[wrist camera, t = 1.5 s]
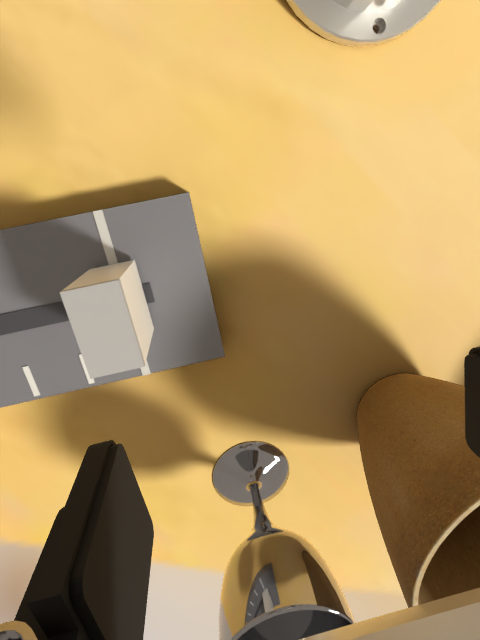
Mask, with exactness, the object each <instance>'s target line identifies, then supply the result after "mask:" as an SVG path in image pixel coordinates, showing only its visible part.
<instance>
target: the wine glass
mask: <svg viewBox="0 0 480 640" xmlns="http://www.w3.org/2000/svg"><path fill="white" fill-rule="evenodd" d="M288 476H289V464H288V461H287V458H286V457H285V455H284V454H283V452H281V451H280V450H279V449H278V448H277V447H275V446H273V445H271V444H269V443H265V442H258V441H252V442H245V443H241V444H239V445H236V446H234V447H232V448H230V449H229V450H227V451H226V452H225V453H224V454H223V455H222V456H221V457H220V458H219V459H218V461H217V463H216V464H215V467H214V470H213V475H212V478H213V485H214V488H215V489H216V491H217V493H218V494H219V495H220V496H221V497H222V498H223V499H224V500H226V501H228V502H229V503H232V504H235V505H239V506H253V512H254V525H253V529H252V531H251V533H250V535H249V536H248V537H247V538H246V539H245V540H244V541H243V542H242V543H241V544H240V545H239V546H238V547H237V549H236V550H235V552H234V553H233V555H232V556H231V558H230V559H229V562H228V564H227V567H226V570H225V574H224V578H223V584H222V590H221V597H220V611H219V638H220V640H299V639H303V638H306V637H310V636H313V635H317V634H320V633H323V632H327V631H330V630H334V629H337V628H341V627H344V626H347V625H351V624H354V623H355V620H354V618H353V615H352V612H351V610H350V608H349V605H348V603H347V601H346V599H345V596H344V594H343V592H342V589H341V587H340V585H339V583H338V582H337V580H336V578H335V576H334V574H333V573H332V571H331V569H330V567H329V566H328V565H327V563H326V562H325V560H324V559H323V557H322V556H321V554H320V553H319V552H318V550H317V549H316V548H315V547H314V546H313V545H312V544H311V543H310V542H309V541H308V540H307V539H305V538H303V537H302V536H300V535H298V534H296V533H294V532H292V531H289V530H286V529H283V528H280V527H277V526H276V525H274V524H273V523H272V522H271V520H270V519H269V517H268V514H267V512H266V510H265V507H264V505H263V503H264V502H267V501H269V500H270V499H272V498H274V497H275V496H276V495H277V494H278V493H279V492H280V491H281V490H282V489H283V487H284V486H285V484H286V482H287V480H288Z"/></svg>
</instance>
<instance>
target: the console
mask: <svg viewBox="0 0 480 640" xmlns="http://www.w3.org/2000/svg"><path fill="white" fill-rule="evenodd" d="M131 260H135V263H136V266H137V270H138V273H139V277H140V280H141V284H142V288H143V291H144V295H145V298H146V302H147V305H148V309H149V312H150V316H151V320H152V323H153V327H154V331H153V335H152V339H151V343H150V347H149V351H148V355H147V359H146V363H145V367H141V368H137V369H132V370H128V371H124V372H119V373H115V374H110V375H106V376H101V377H97V378H93V379H90V377H89V374H88V371H87V368H86V365H85V363H84V360H83V357H82V354H81V351H80V349H79V346H78V343H77V340H76V337H75V335H74V332H73V329H72V326H71V323H70V321H69V318H68V315H67V312H66V309H65V307H64V304H63V301H62V298H61V295H60V293H59V292H61V291H62V290H63V289H65V288H66V287H67V286H69V285H70V284H71V283H72V282H74V281H75V280H76V279H78V278H79V277H80V276H82V275H83V274H84V273H85V272H87V271H88V270H89V269H93V268H98V267H102V266H107V265H112V264H117V263H122V262H126V261H131ZM220 357H225V353H224V349H223V344H222V340H221V335H220V331H219V326H218V322H217V317H216V313H215V308H214V304H213V299H212V294H211V290H210V285H209V281H208V276H207V272H206V267H205V263H204V258H203V254H202V249H201V245H200V240H199V236H198V231H197V227H196V222H195V218H194V213H193V209H192V204H191V200H190V195H189V192H188V193H183V194H178V195H173V196H168V197H163V198H158V199H153V200H148V201H143V202H138V203H133V204H128V205H123V206H118V207H113V208H108V209H103V210H98V211H93V212H88V213H83V214H78V215H73V216H68V217H63V218H58V219H53V220H48V221H43V222H38V223H33V224H28V225H23V226H18V227H13V228H8V229H3V230H0V408H1V407H5V406H9V405H14V404H18V403H23V402H27V401H31V400H36V399H40V398H45V397H49V396H53V395H58V394H62V393H67V392H71V391H75V390H80V389H84V388H89V387H93V386H97V385H102V384H106V383H111V382H115V381H119V380H124V379H128V378H132V377H137V376H141V375H143V376H144V375H148V374H151V373H154V372H159V371H163V370H168V369H172V368H176V367H181V366H185V365H190V364H194V363H198V362H203V361H207V360H212V359H216V358H220Z"/></svg>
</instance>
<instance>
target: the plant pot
mask: <svg viewBox="0 0 480 640" xmlns="http://www.w3.org/2000/svg"><path fill="white" fill-rule="evenodd" d="M357 427H358V436H359V443H360V451H361V456H362V462H363V466H364V471H365V476H366V480H367V484H368V488H369V492H370V496H371V500H372V503H373V507H374V510H375V514H376V517H377V520H378V524H379V527H380V530H381V533H382V536H383V539H384V542H385V545H386V548H387V551H388V554H389V556H390V559H391V562H392V565H393V568H394V570H395V573H396V576H397V578H398V581H399V584H400V587H401V589H402V592H403V595H404V598H405V600H406V603H407V605H408V608H410V607H413V606H417V605H420V604H424V603H427V602H431V601H434V600H438V599H441V598H445V597H449V596H452V595H456V594H459V593H463V592H466V591H470V590H473V589H477V588H480V458H479V457H478V456H477V455H476V454H475V453H474V452H473V451H472V450H471V449H470V448H469V446H468V444H467V442H466V438H465V386H461V385H458V384H454V383H450V382H447V381H443V380H439V379H434V378H430V377H425V376H420V375H415V374H408V373H400V374H394V375H390V376H388V377H385V378H383V379H381V380H379V381H378V382H376V383H375V384H374V385H373V386H371V387H370V388H369V389H368V390H367V392H366V393H365V394H364V396H363V397H362V399H361V401H360V403H359V406H358V410H357Z"/></svg>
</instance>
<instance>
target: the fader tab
mask: <svg viewBox="0 0 480 640" xmlns="http://www.w3.org/2000/svg"><path fill="white" fill-rule="evenodd" d="M59 293H60V295H61V298H62V301H63V304H64V307H65V309H66V312H67V315H68V318H69V321H70V323H71V326H72V329H73V332H74V335H75V337H76V340H77V343H78V346H79V349H80V351H81V354H82V357H83V360H84V363H85V365H86V368H87V371H88V374H89V377H90V379H93V378H97V377H101V376H106V375H110V374H115V373H119V372H124V371H128V370H132V369H137V368H141V367H145V363H146V359H147V355H148V351H149V347H150V343H151V339H152V335H153V331H154V327H153V323H152V320H151V316H150V312H149V309H148V305H147V302H146V298H145V295H144V291H143V288H142V284H141V280H140V277H139V273H138V270H137V266H136V263H135V260H131V261H126V262H122V263H117V264H112V265H107V266H102V267H98V268H93V269H89V270H88V271H87V272H85V273H84V274H83V275H82V276H80V277H79V278H78V279H76V280H75V281H74V282H72V283H71V284H70V285H69V286H67V287H66V288H65V289H63V290H62V291H61V292H59Z"/></svg>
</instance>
